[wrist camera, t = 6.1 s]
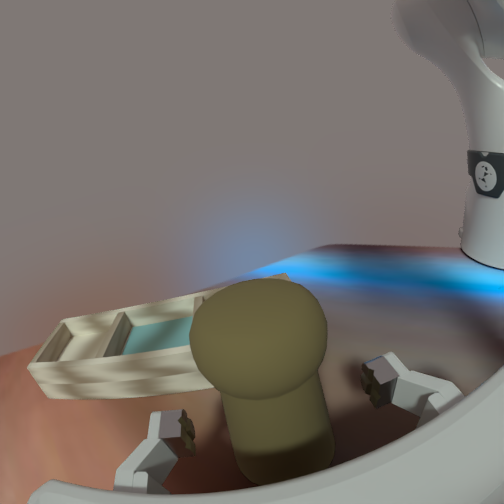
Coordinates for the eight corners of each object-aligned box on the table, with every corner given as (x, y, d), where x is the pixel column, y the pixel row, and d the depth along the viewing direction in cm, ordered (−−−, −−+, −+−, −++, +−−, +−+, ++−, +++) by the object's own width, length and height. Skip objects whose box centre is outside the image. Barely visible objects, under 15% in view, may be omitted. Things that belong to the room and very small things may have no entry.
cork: (229, 425, 16) (172, 282, 12) (315, 400, 16) (300, 250, 13) (245, 500, 10) (158, 373, 6) (351, 468, 11) (373, 312, 7)
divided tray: (290, 306, 29) (285, 272, 27) (320, 361, 20) (317, 321, 19) (76, 347, 27) (62, 319, 25) (48, 398, 18) (26, 367, 17)
